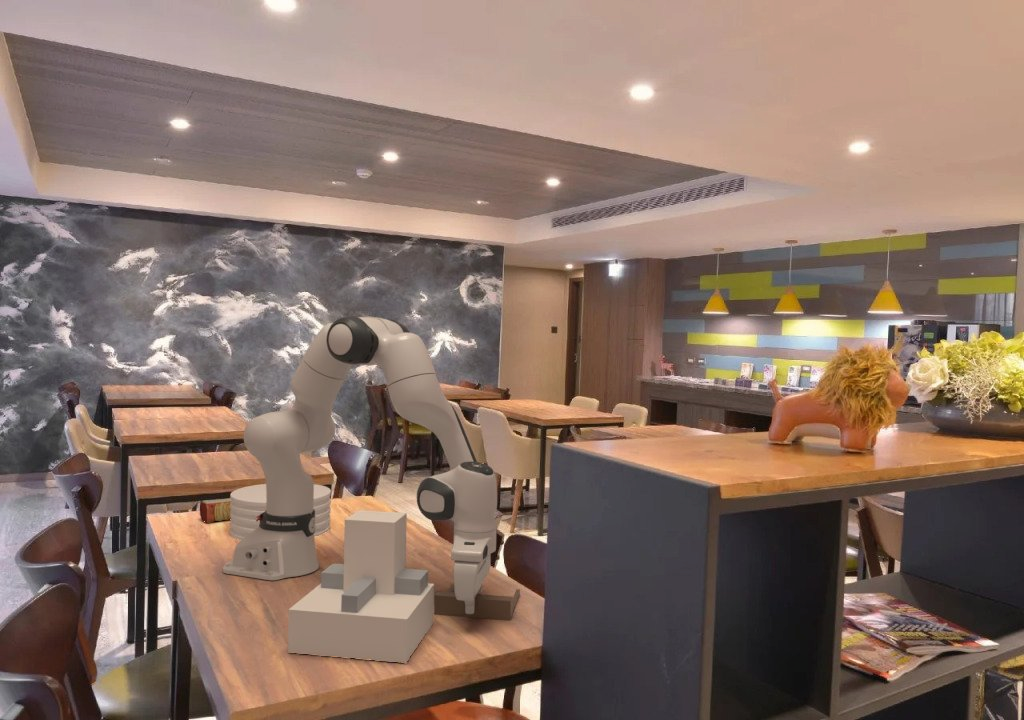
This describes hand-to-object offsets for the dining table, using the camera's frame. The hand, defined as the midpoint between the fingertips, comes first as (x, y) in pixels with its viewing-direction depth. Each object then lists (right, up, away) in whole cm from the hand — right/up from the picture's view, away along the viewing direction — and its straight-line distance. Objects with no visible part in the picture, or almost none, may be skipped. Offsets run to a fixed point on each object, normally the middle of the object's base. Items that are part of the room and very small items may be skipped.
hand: (473, 607), depth 152 cm
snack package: (-77, +2, +76) cm, 108 cm away
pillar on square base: (-20, -2, -13) cm, 24 cm away
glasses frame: (+1, -1, +6) cm, 7 cm away
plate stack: (-60, +1, +62) cm, 86 cm away
